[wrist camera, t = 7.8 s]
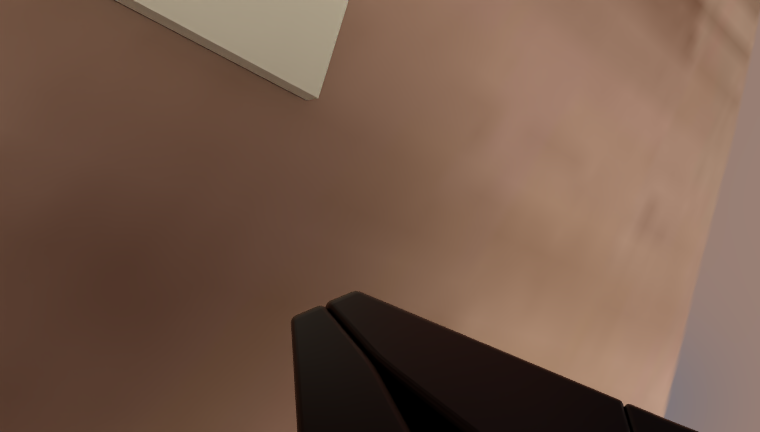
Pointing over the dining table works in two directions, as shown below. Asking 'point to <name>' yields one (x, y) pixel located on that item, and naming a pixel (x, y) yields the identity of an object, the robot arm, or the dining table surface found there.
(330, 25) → the strip
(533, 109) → the dining table surface
